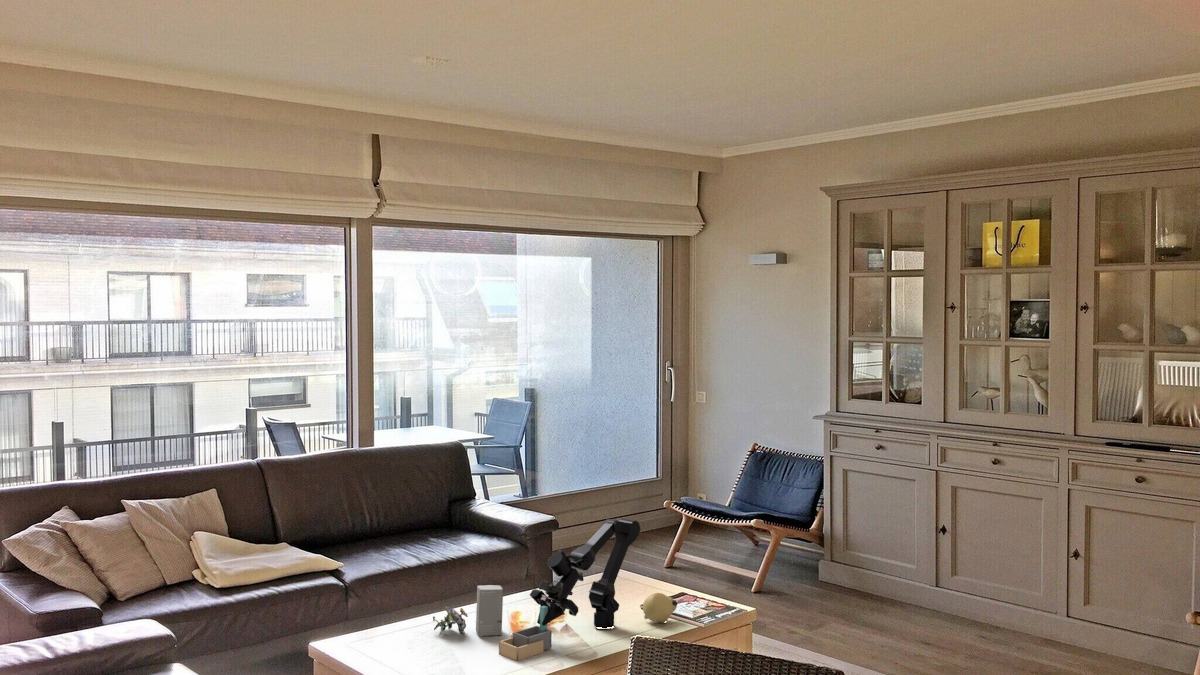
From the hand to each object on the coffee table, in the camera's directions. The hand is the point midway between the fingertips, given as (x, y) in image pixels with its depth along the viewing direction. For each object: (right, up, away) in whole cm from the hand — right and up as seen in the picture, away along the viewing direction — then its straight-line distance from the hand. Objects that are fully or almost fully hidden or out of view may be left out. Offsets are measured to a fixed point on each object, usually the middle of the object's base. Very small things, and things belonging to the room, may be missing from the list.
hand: (540, 624), depth 317 cm
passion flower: (-31, -7, +12) cm, 34 cm away
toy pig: (+41, -8, +28) cm, 50 cm away
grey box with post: (-3, -8, -3) cm, 9 cm away
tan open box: (-6, -8, -6) cm, 11 cm away
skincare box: (-18, -7, +14) cm, 24 cm away
